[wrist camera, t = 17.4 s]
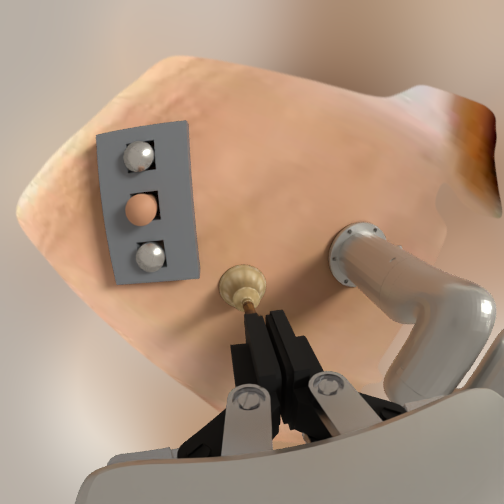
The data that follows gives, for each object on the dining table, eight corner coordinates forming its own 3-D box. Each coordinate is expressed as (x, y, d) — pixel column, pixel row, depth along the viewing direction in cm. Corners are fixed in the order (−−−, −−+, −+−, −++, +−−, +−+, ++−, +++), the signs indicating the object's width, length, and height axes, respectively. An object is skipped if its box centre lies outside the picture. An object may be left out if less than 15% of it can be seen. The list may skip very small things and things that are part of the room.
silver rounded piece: (166, 234, 44) (161, 242, 40) (170, 259, 46) (166, 271, 41) (141, 236, 44) (133, 245, 39) (145, 262, 45) (138, 273, 41)
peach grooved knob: (160, 189, 41) (153, 192, 36) (163, 217, 42) (157, 224, 37) (132, 192, 40) (123, 196, 35) (136, 220, 41) (127, 227, 37)
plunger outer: (158, 141, 40) (151, 138, 35) (160, 168, 41) (153, 169, 36) (131, 145, 39) (122, 143, 34) (133, 172, 41) (124, 173, 36)
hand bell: (255, 256, 48) (275, 300, 33) (272, 296, 51) (295, 348, 36) (211, 276, 48) (211, 326, 33) (230, 313, 51) (239, 371, 36)
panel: (188, 124, 40) (186, 120, 36) (200, 269, 48) (199, 278, 44) (105, 136, 38) (96, 134, 35) (123, 275, 46) (116, 284, 42)
